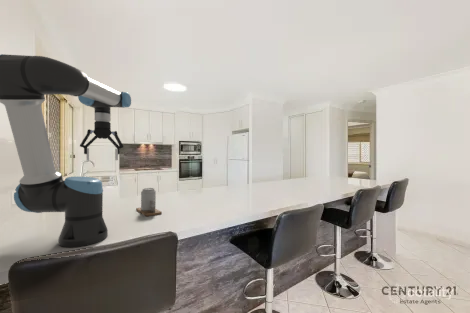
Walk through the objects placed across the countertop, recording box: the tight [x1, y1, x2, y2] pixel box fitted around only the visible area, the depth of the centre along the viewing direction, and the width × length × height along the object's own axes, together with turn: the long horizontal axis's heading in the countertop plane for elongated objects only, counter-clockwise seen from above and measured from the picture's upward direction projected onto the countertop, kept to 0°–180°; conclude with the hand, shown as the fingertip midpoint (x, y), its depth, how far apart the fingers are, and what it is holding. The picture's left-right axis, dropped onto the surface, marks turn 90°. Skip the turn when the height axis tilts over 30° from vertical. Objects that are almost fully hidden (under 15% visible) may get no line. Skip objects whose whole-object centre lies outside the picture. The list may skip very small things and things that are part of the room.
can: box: [140, 187, 157, 211], centre depth 120 cm, size 8×8×12 cm
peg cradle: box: [135, 201, 162, 218], centre depth 120 cm, size 17×8×7 cm, turn 41°
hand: (102, 160), depth 118 cm, fingers open, 13 cm apart
